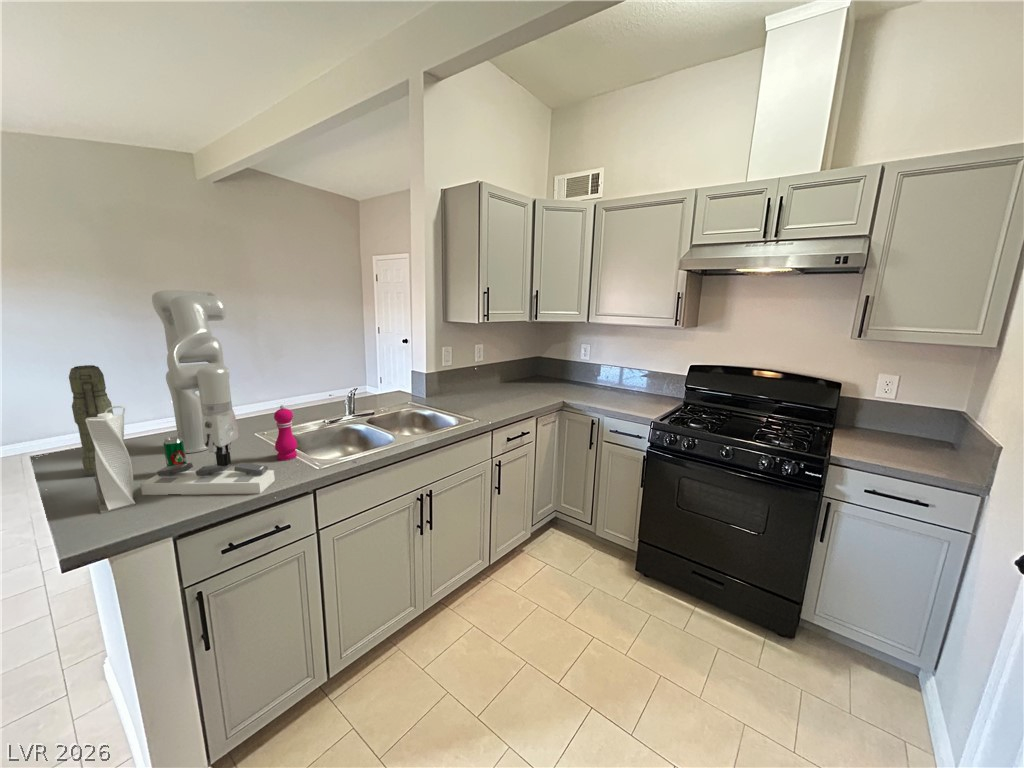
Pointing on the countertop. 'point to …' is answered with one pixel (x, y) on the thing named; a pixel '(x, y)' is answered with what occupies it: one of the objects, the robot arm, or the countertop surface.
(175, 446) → the soda can
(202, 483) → the power strip
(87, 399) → the olive piece
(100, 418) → the skyscraper
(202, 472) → the middle rocker
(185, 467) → the rocker
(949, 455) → the countertop surface
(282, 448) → the pepper mill
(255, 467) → the block
